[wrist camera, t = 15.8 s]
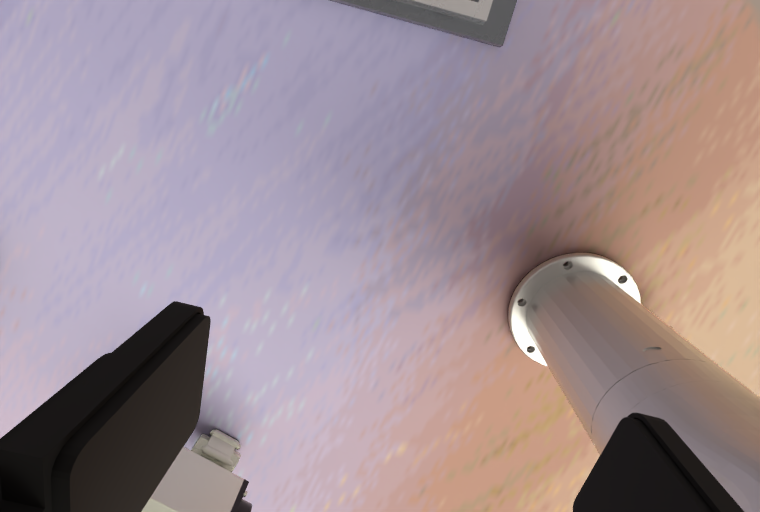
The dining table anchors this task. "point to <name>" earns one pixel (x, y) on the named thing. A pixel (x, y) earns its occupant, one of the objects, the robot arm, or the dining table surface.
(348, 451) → the dining table surface
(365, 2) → the mounting plate
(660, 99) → the dining table surface
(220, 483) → the pneumatic valve
